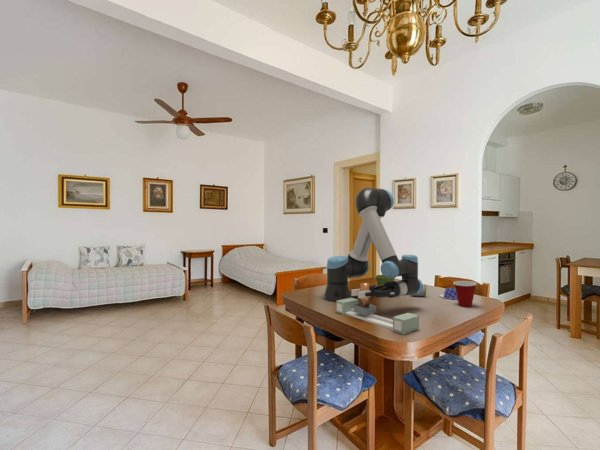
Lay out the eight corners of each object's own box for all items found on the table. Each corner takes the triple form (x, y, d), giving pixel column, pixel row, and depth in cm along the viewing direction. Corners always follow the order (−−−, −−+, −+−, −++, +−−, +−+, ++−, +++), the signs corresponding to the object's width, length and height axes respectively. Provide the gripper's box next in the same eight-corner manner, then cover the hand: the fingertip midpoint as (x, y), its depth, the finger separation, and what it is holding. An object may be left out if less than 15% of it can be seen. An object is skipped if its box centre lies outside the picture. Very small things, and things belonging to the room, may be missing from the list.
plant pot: (391, 292, 187) (391, 274, 187) (398, 297, 175) (398, 277, 175) (372, 293, 186) (372, 274, 186) (378, 297, 174) (378, 278, 174)
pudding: (465, 301, 168) (465, 291, 168) (441, 299, 172) (441, 290, 172) (460, 296, 180) (460, 287, 179) (438, 294, 183) (438, 286, 183)
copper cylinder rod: (353, 311, 139) (353, 282, 139) (364, 309, 143) (364, 281, 143) (365, 315, 133) (365, 285, 133) (376, 312, 138) (376, 283, 138)
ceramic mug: (426, 297, 174) (426, 284, 174) (411, 296, 176) (411, 283, 177) (424, 294, 184) (424, 281, 185) (409, 293, 187) (409, 280, 187)
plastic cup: (448, 303, 163) (448, 280, 163) (468, 302, 163) (468, 280, 163) (460, 308, 152) (460, 284, 152) (481, 308, 153) (481, 284, 153)
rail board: (335, 312, 146) (335, 300, 146) (351, 308, 152) (351, 297, 152) (403, 335, 116) (403, 320, 116) (419, 329, 122) (419, 315, 122)
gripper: (408, 300, 139) (367, 307, 128) (382, 293, 154) (343, 298, 143) (408, 284, 139) (367, 289, 128) (382, 278, 154) (343, 282, 143)
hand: (355, 294), depth 136 cm, fingers closed on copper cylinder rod, 4 cm apart
